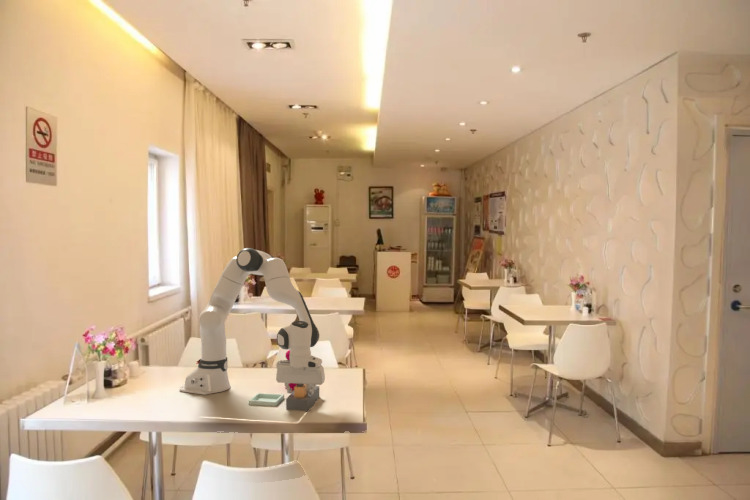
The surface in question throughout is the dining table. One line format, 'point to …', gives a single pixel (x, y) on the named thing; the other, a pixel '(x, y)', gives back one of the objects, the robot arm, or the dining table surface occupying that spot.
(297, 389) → the plug
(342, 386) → the dining table surface
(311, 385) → the twin plug
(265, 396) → the tray
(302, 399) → the socket strip
